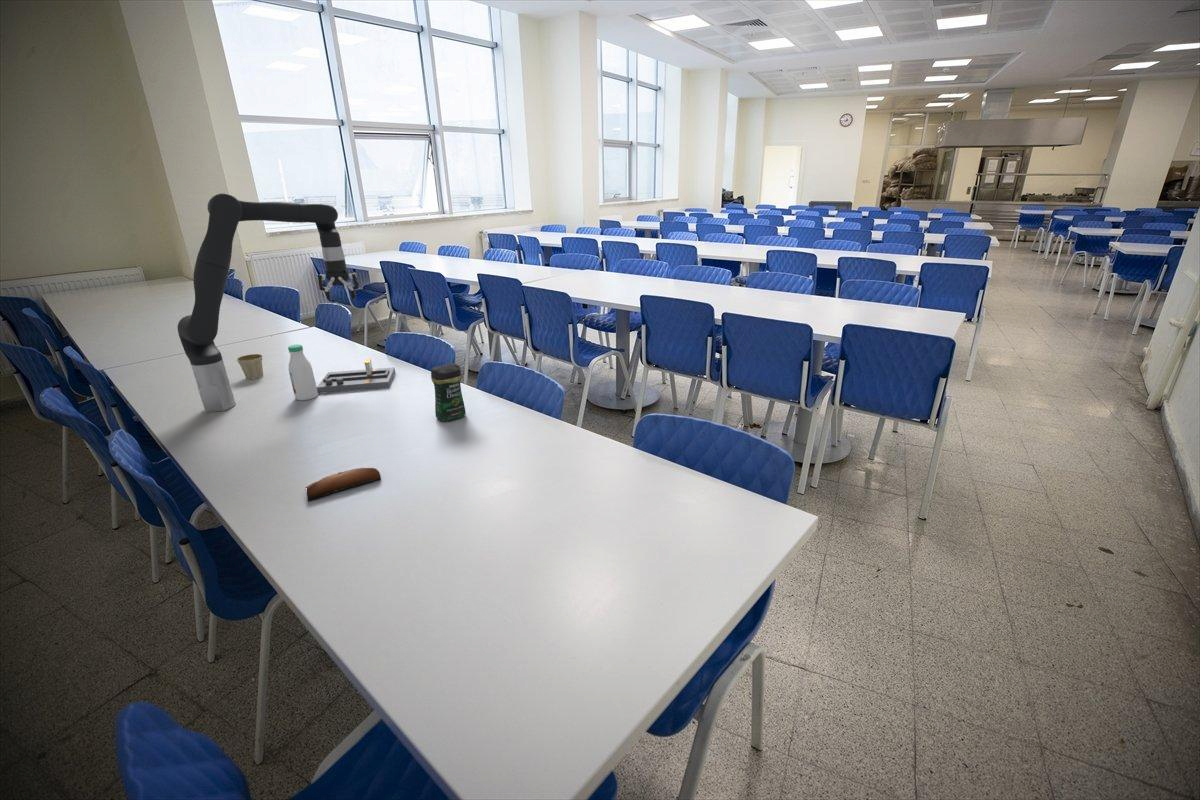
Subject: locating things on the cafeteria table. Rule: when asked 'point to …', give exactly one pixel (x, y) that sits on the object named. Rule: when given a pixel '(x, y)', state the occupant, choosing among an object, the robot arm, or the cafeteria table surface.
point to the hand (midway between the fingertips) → (342, 300)
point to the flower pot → (251, 365)
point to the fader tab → (368, 367)
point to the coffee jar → (448, 392)
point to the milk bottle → (301, 374)
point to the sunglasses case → (341, 481)
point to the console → (356, 380)
